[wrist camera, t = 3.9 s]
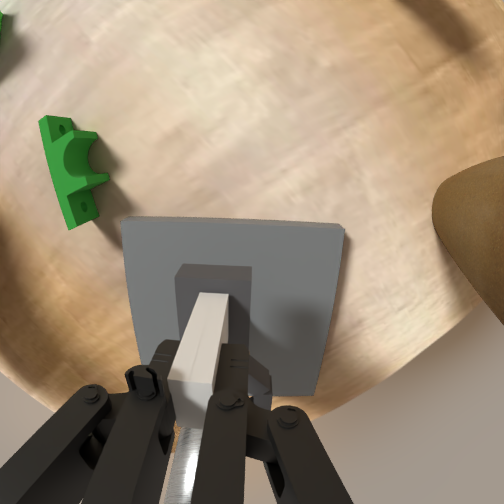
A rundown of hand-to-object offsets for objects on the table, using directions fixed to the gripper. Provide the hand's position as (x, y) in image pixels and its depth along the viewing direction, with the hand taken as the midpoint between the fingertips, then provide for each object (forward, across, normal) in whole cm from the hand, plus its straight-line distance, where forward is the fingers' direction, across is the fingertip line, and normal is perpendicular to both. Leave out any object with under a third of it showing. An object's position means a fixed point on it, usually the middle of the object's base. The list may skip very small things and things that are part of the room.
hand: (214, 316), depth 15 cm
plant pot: (+13, +24, +6) cm, 28 cm away
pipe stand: (+13, 0, -8) cm, 15 cm away
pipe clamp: (+13, -15, +8) cm, 21 cm away
